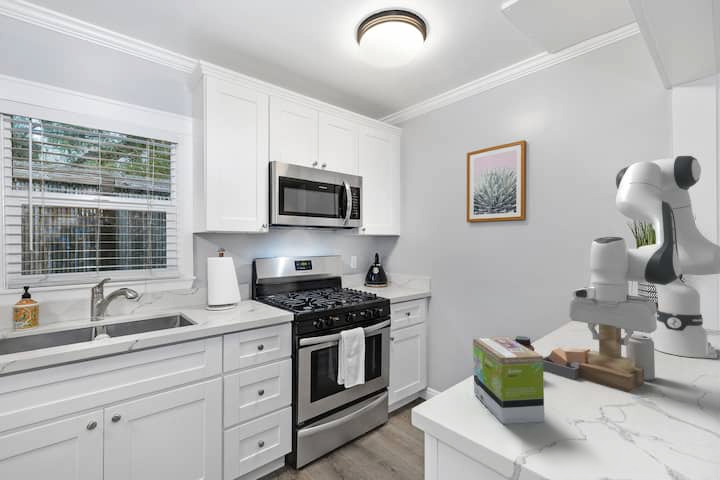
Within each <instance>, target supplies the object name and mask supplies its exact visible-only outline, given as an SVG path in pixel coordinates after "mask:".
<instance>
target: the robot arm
mask: <svg viewBox="0 0 720 480" xmlns="http://www.w3.org/2000/svg"><path fill="white" fill-rule="evenodd" d="M701 174H702V167H701V165H700V163H699V161H698V159H697V158H696V157H694V156H692V155H678V156H676V157H669V158H668V157H666V158H660V159H655V160H654V159H653V160H651V161H647V160H646V161H639V162H638V161H637V162H635V163H633V164H631V165H629V166H626V167H624V168H622V169H621V170H619V171H618V173H617V174H616V176H615V177H616V178H615V186H616V188H617V192H616V196H615V206H616V209H617V210H618V211H619V213H620V214H622V215H623V216H625V217H626V218H628V219H630V220H633V221H638V222H643V223H647V224H650V225H652V226H651V227H652V229H653V230H654V231H655V232H654V233H655V243H653V244H648V245H641V246H639V247H638V248H628V247H627V244H626V241H625V238H624V237H620V236H619V237H618V236H606V237H598V238H596V239H594V240H593V241H592V243H591V247H590V255H589V269H590V271H591V272H590V273H591V277H590V281H589V283H590V284H589V286H585V287H581V288H577V289H574V290H572V292H571V295H572V297H573V298H571V300H570V302H569V308H568V316H569V319H570V320H571V322H572V321H573V322H579V323H585V324H587V328H588V330H589V331H590V333H591V334H592V340H596V341H599V332H597V329H596V327H597V325H598V326H599V324H604V325H611V326H616V328H620V329H621V330H624V333H625V334H626V335H624V337H621V338H620V345H621V346H625V347H626V346H628V344H629V338H630V337H631V336H632V334H635V333H634V332H640V333H644V334H645V333H646V334H651V336H650V337H652V340H653V342H654V350H656V351H659V352H661V353H666V354H669V355H674V356H679V357H680V356H681V357H688V358H698V359H700V358H702V359H703V358H704V359H705V358H706V359H718V354H717V350H716V347H714V346H712V343H711V342H709V340H708V339H709V338H708V332H707V331H706V330H705V328H704V327H703V324H704V322H703V321H704V319H703V315H702V313H701V295H700V293H699V291H698V290H697V289H696V288H694V287H693V286H691V285H688V284H686V283H684V282H683V281H682V280H681V279H680V276H681V275H690V276H691V275H692V276H711V275H717V274H718V275H720V245H718V244H716V243H714V242H712V241H710V239H708V238H707V237H705V236H704V235H703V234H702V232H700V230H699V228H698V227H697V224H696V223H695V222H696V221H695V218H694V213H693V208H692V207H693V205H692V201H691V197H690V192H689V189H690V188H691V187H694V185H696V184H697V183H698V181H699V180H700V178H701V177H700V176H701ZM629 282H636V283H637V282H638V283H639V282H640V283H648V284H653V285H654V286H655V290H656V295H657V296H656V297H657V304H656V301H655V300H653V299H651V298H649V297H646V296H637V295H630V290H629V287H630V285H629Z"/></svg>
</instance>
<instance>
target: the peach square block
mask: <svg viewBox="0 0 720 480" xmlns="http://www.w3.org/2000/svg"><path fill="white" fill-rule="evenodd" d="M565 351H566V350H564V349H562V348H561V347H558V348H556V349H553V350H552V351H551V352H550V354H548V355H549V357H548V358H549V359H550V360H551V361H553V362H554V363H555V364H559V365H562V366H566V367H569V366H571V364H572V363H573V362H567V359H566V355H565Z"/></svg>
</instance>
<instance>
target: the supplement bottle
mask: <svg viewBox="0 0 720 480" xmlns="http://www.w3.org/2000/svg"><path fill="white" fill-rule="evenodd" d="M514 341H516V342H517V343H519V344H521V345H523V346H525V347H527V348H528V349H530V350H532V351H534V352H535V347H534V345H532V344H531V343H532V342H531V338H530V337H529V336H525V335H516V336H515V340H514Z"/></svg>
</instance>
